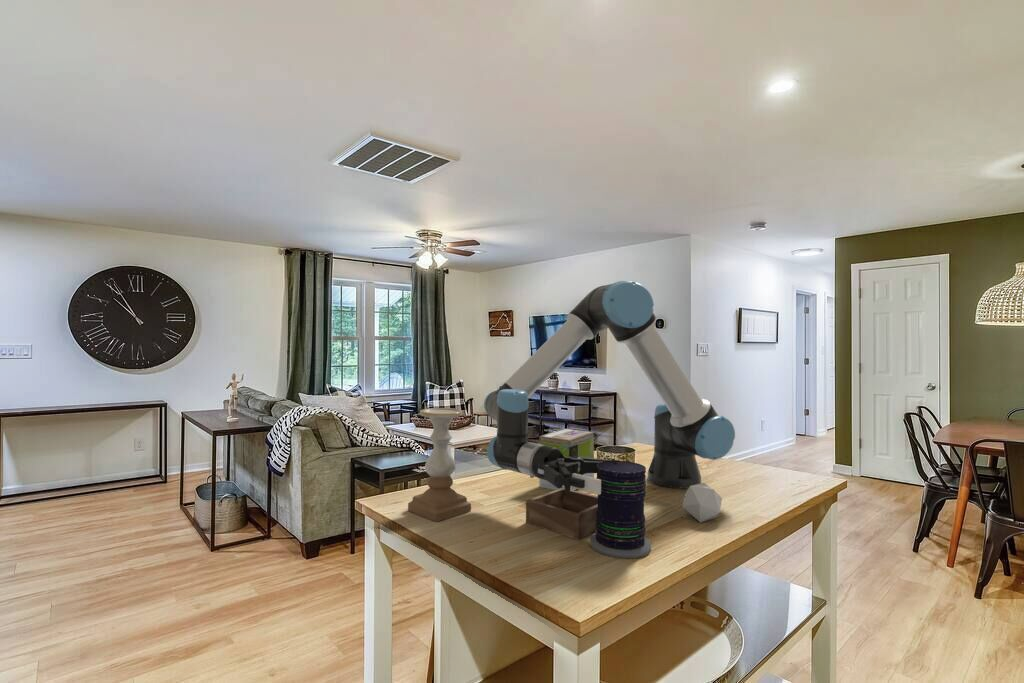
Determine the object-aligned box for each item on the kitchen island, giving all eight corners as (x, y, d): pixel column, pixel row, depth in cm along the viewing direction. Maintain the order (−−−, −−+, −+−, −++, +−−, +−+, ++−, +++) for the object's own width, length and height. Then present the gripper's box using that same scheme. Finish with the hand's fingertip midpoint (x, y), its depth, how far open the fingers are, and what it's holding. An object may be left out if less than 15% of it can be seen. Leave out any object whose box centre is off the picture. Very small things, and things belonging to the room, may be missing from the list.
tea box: (564, 476, 156) (565, 427, 156) (594, 482, 150) (595, 431, 150) (537, 487, 144) (538, 434, 144) (569, 494, 138) (570, 439, 138)
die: (699, 512, 127) (677, 481, 126) (732, 502, 122) (708, 469, 121) (695, 534, 120) (671, 502, 119) (729, 524, 115) (704, 490, 115)
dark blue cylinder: (654, 548, 100) (655, 471, 100) (606, 552, 97) (607, 473, 97) (631, 530, 109) (632, 459, 109) (588, 533, 107) (589, 461, 107)
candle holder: (406, 510, 122) (408, 410, 122) (442, 500, 130) (444, 406, 130) (435, 522, 115) (437, 415, 115) (472, 510, 123) (474, 411, 123)
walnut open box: (561, 508, 126) (562, 487, 126) (612, 522, 117) (612, 500, 117) (525, 522, 115) (526, 500, 115) (578, 539, 106) (578, 515, 106)
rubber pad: (608, 530, 112) (609, 525, 112) (661, 545, 104) (661, 540, 104) (578, 546, 103) (578, 541, 103) (633, 564, 95) (633, 559, 95)
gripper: (574, 469, 127) (651, 487, 112) (501, 488, 110) (581, 513, 95) (575, 438, 127) (652, 453, 112) (502, 452, 110) (582, 472, 94)
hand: (620, 480), depth 103 cm, fingers open, 13 cm apart
